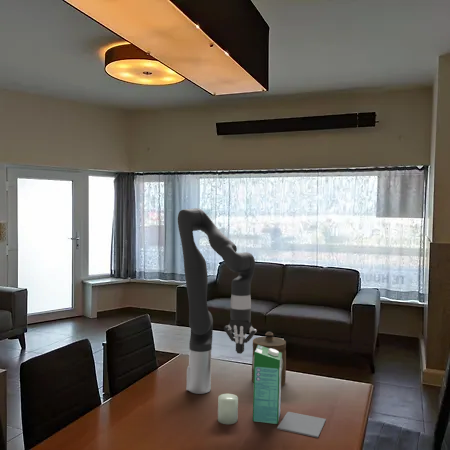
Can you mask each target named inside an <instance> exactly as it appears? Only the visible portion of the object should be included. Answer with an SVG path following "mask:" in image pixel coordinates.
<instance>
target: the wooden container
mask: <svg viewBox="0 0 450 450" xmlns="http://www.w3.org/2000/svg"><path fill="white" fill-rule="evenodd" d="M258 345H260V346H263V347H266V348H272V349H275V350H277V351H279V352H281V353H282V366H281V387H283V386H285V384H286V378H287V377H286V375H287V374H286V373H287V371H286V370H287V349H286V348H287V341H286V340H285V339H283V338H281V337H277V336H276V337H275V336H274V333H273V332H272V331H266V333H265V336H259V337H255V338H253V339H252V358H251V359H252V361H251V382H252V384H254V352H255V350H256V348H257V346H258Z"/></svg>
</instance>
